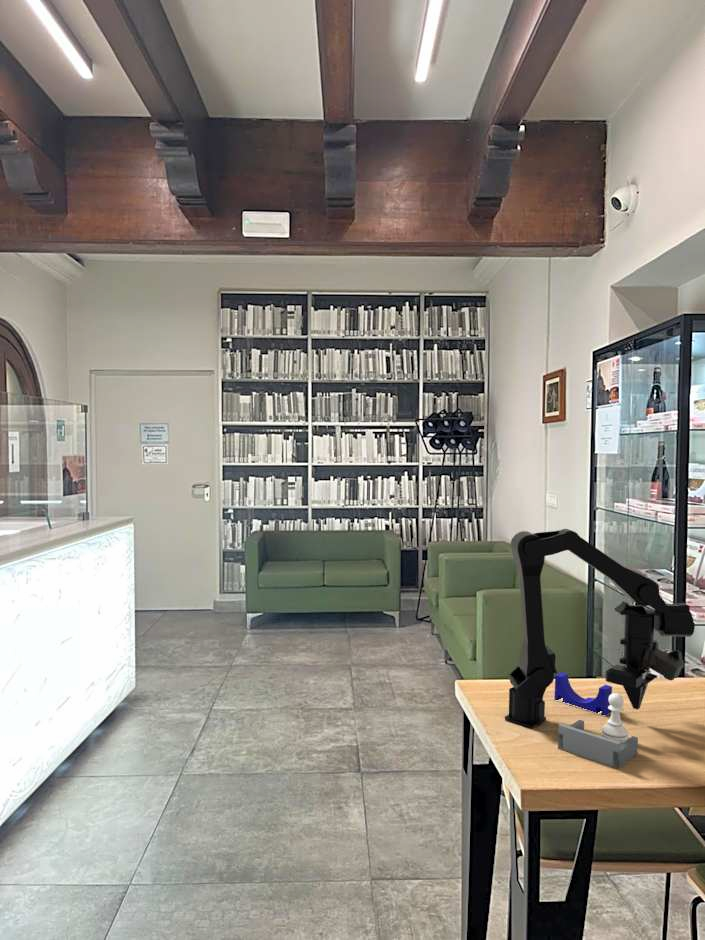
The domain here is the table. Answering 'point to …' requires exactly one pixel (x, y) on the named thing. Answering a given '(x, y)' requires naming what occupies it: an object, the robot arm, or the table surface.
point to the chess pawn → (615, 720)
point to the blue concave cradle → (569, 696)
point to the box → (595, 745)
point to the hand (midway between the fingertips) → (636, 708)
